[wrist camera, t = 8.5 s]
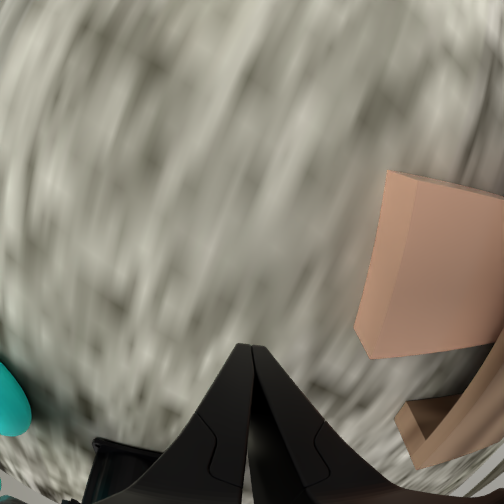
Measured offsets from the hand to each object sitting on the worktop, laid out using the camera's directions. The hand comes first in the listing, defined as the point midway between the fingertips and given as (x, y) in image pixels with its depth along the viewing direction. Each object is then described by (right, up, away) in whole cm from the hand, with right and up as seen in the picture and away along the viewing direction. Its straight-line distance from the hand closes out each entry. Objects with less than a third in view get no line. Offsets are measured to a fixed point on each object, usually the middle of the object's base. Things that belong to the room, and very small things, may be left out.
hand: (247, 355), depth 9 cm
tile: (+13, +3, +6) cm, 14 cm away
